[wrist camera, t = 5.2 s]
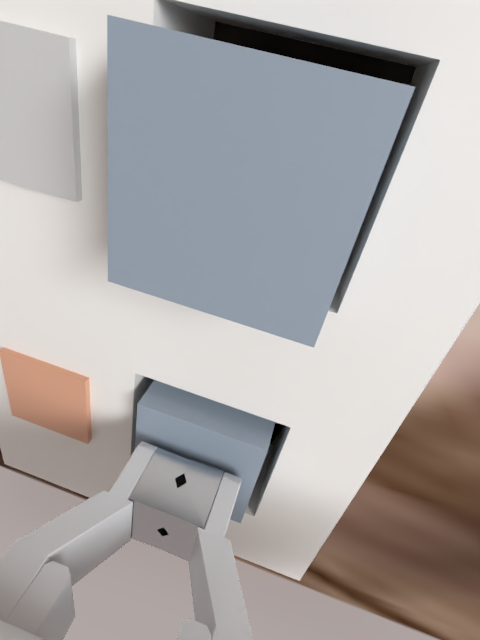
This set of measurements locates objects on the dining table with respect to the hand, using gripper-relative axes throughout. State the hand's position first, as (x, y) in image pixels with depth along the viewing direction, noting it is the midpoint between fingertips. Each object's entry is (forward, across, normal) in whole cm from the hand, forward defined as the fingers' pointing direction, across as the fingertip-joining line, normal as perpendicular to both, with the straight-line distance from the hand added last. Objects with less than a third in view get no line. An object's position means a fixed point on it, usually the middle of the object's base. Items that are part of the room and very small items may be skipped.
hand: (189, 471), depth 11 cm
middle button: (+2, 0, -8) cm, 8 cm away
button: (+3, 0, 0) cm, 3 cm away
